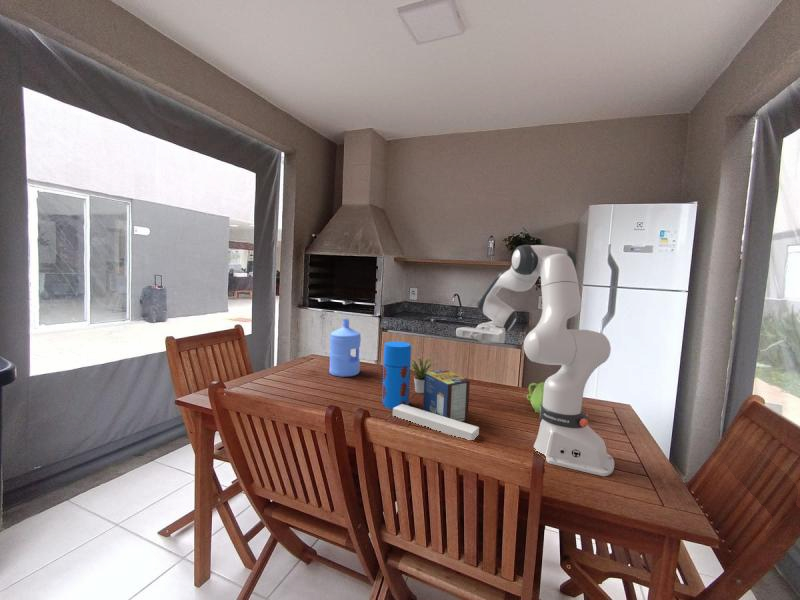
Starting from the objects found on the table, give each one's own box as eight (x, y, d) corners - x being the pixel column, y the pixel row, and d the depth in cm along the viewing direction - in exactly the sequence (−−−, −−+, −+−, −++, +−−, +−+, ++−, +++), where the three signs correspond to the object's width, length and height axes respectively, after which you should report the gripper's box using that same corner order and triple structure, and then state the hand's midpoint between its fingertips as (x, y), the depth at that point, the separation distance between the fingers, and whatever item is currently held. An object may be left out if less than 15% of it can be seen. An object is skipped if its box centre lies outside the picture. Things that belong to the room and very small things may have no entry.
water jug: (327, 377, 182) (328, 321, 179) (331, 368, 197) (332, 317, 195) (359, 377, 183) (360, 322, 181) (360, 368, 199) (361, 317, 196)
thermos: (377, 401, 151) (380, 342, 149) (400, 398, 156) (403, 340, 154) (389, 411, 142) (391, 348, 140) (413, 407, 147) (416, 346, 144)
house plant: (438, 386, 174) (439, 353, 172) (440, 397, 160) (442, 360, 158) (408, 385, 174) (409, 351, 173) (408, 395, 160) (409, 359, 159)
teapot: (576, 421, 140) (579, 389, 139) (539, 420, 139) (542, 388, 138) (556, 405, 156) (559, 376, 155) (523, 404, 155) (526, 375, 154)
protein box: (443, 406, 149) (445, 369, 148) (468, 420, 136) (470, 380, 135) (422, 410, 144) (424, 372, 143) (445, 425, 131) (447, 383, 130)
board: (478, 435, 124) (479, 427, 124) (471, 442, 119) (471, 433, 119) (401, 411, 142) (402, 403, 142) (392, 415, 137) (392, 408, 137)
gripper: (464, 323, 164) (449, 326, 153) (509, 328, 153) (497, 332, 141) (463, 336, 165) (449, 340, 154) (508, 343, 153) (496, 348, 142)
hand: (472, 336), depth 147 cm, fingers closed
